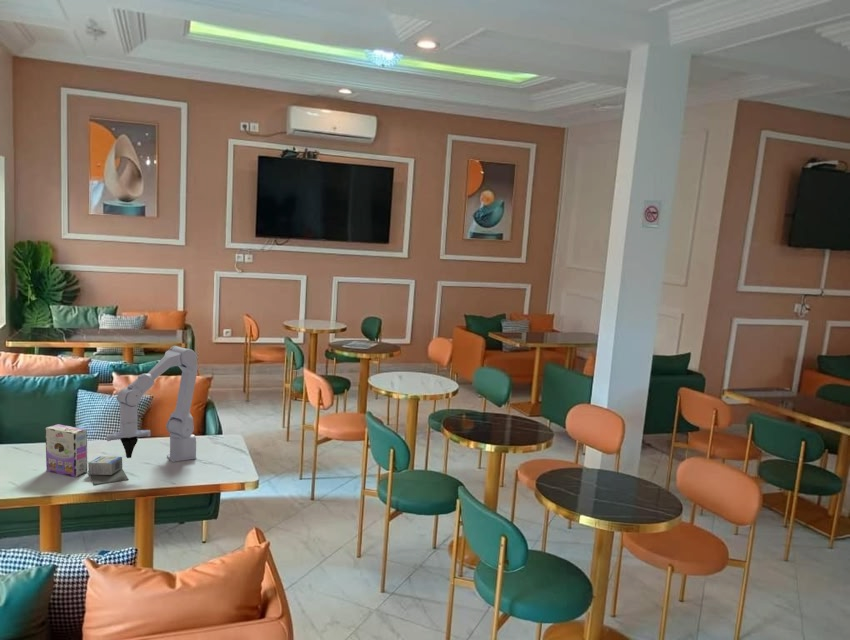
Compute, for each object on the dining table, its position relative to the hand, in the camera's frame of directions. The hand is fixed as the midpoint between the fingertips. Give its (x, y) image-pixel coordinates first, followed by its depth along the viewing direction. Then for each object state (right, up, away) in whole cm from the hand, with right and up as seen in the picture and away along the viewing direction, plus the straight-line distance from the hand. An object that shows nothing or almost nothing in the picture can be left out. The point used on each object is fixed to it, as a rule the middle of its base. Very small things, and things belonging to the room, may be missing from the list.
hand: (128, 457), depth 239 cm
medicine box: (-3, -3, -1) cm, 5 cm away
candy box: (-22, -5, -2) cm, 22 cm away
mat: (-6, -6, -3) cm, 9 cm away
